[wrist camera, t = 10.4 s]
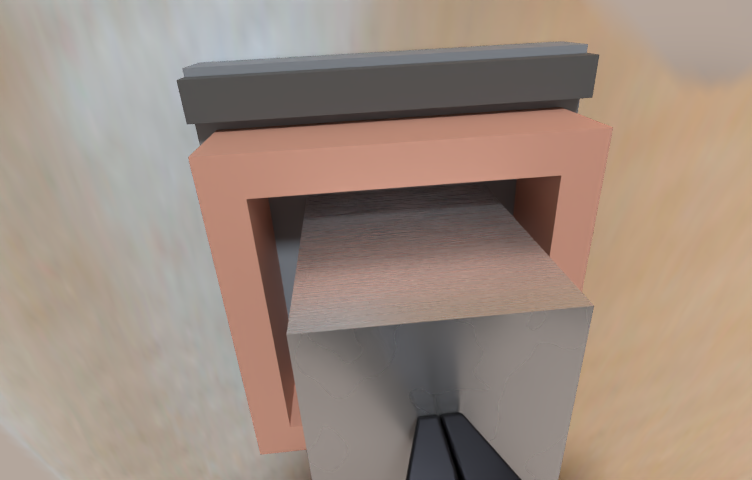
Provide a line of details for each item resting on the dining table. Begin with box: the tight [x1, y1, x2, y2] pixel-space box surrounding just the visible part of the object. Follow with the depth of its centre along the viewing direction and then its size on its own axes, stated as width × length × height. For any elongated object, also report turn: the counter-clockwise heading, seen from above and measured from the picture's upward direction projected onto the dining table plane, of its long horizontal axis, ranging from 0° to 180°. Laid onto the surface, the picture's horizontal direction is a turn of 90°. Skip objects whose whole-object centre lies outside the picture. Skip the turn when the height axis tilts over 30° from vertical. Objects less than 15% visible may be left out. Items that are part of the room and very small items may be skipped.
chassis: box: [177, 42, 613, 454], centre depth 13 cm, size 12×10×4 cm
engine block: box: [286, 184, 594, 480], centre depth 11 cm, size 5×5×6 cm
